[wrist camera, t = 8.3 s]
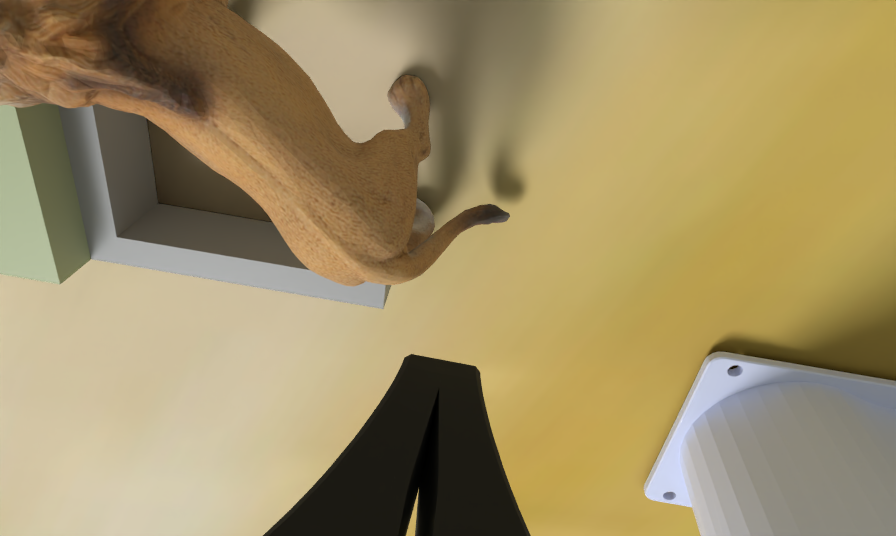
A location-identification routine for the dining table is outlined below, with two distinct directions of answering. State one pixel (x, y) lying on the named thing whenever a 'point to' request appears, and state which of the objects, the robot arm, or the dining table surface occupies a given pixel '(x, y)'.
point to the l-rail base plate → (127, 210)
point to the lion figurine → (242, 123)
